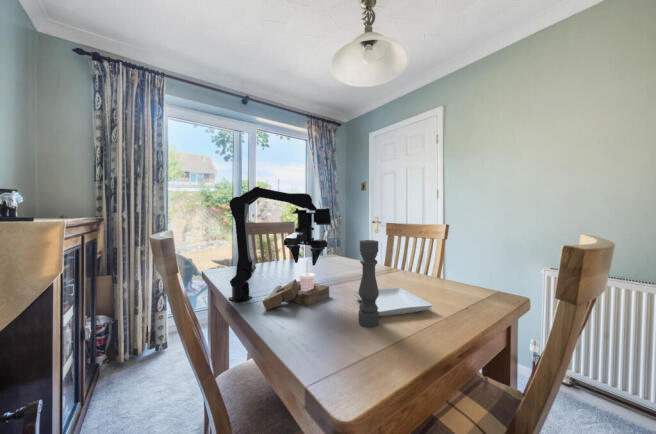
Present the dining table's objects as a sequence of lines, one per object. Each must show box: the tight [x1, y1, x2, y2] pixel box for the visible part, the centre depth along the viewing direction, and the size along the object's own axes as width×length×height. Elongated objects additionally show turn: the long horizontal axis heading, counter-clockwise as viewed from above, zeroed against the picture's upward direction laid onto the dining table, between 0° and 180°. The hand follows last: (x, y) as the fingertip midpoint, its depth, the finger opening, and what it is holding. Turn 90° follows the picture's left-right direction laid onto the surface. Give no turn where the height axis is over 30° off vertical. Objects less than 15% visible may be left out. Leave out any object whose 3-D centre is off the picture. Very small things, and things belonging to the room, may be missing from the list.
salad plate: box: [352, 287, 433, 317], centre depth 89 cm, size 21×21×3 cm
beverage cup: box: [298, 261, 316, 292], centre depth 98 cm, size 6×6×14 cm
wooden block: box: [262, 279, 299, 312], centre depth 93 cm, size 4×11×18 cm
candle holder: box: [357, 239, 380, 328], centre depth 75 cm, size 6×6×25 cm
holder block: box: [279, 280, 330, 307], centre depth 98 cm, size 15×13×4 cm
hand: (304, 264), depth 98 cm, fingers open, 9 cm apart
